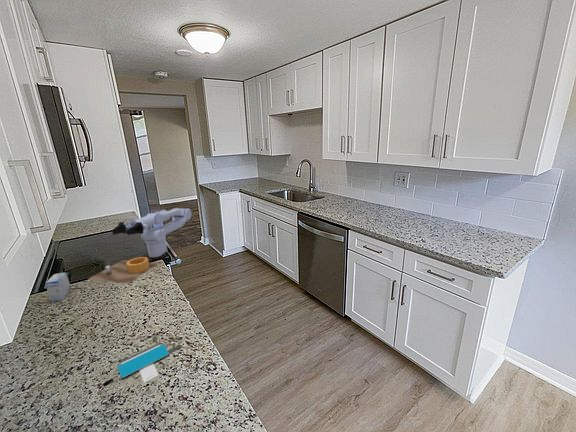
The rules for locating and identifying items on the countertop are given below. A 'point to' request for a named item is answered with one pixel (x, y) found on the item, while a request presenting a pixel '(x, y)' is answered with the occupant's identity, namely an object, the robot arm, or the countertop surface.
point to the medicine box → (58, 287)
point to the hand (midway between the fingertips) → (120, 232)
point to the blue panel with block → (145, 362)
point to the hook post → (108, 270)
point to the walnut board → (120, 273)
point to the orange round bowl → (137, 265)
